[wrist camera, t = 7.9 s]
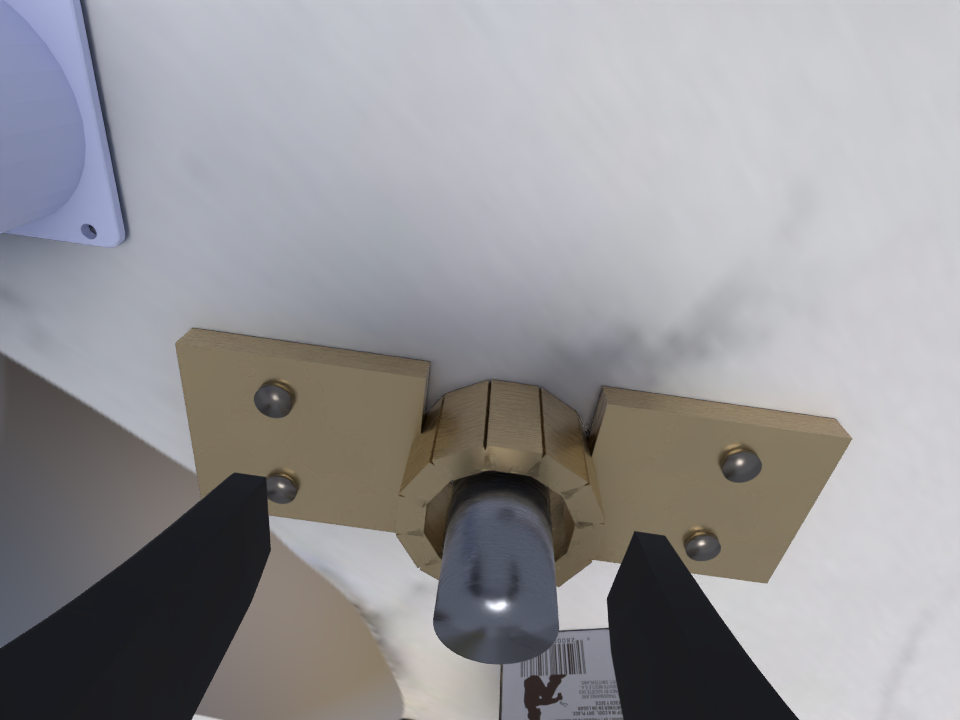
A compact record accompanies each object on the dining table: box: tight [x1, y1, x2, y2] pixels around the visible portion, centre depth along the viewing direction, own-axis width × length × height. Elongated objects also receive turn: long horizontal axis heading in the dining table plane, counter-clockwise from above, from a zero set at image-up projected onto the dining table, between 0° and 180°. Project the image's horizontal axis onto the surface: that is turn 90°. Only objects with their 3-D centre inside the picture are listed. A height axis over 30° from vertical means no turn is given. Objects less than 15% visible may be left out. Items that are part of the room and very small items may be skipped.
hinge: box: [175, 328, 852, 587], centre depth 21 cm, size 25×8×4 cm, turn 82°
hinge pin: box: [433, 470, 559, 664], centre depth 19 cm, size 4×4×8 cm
